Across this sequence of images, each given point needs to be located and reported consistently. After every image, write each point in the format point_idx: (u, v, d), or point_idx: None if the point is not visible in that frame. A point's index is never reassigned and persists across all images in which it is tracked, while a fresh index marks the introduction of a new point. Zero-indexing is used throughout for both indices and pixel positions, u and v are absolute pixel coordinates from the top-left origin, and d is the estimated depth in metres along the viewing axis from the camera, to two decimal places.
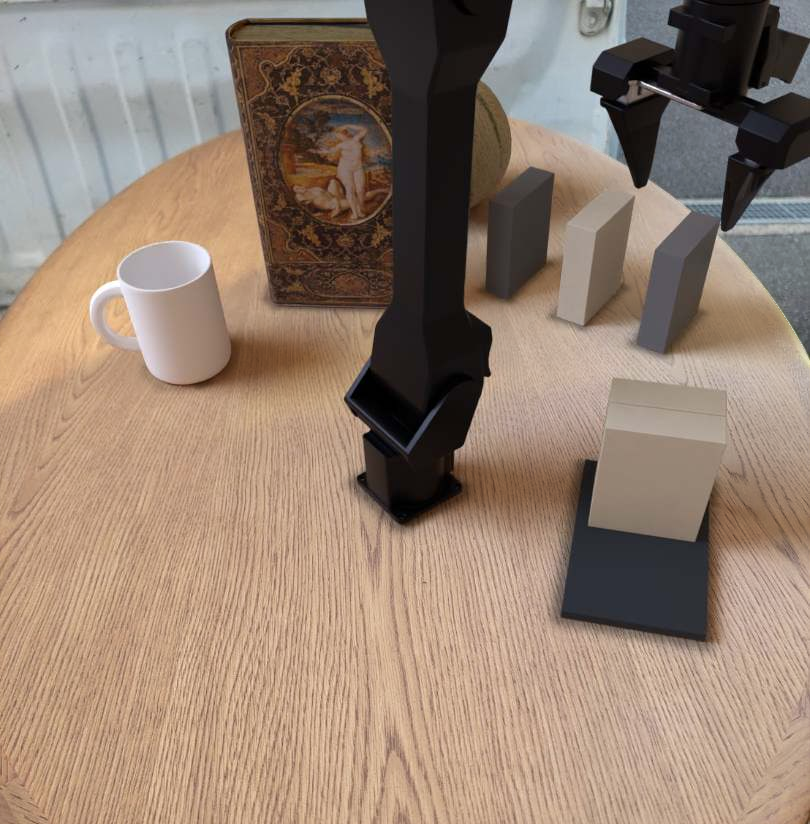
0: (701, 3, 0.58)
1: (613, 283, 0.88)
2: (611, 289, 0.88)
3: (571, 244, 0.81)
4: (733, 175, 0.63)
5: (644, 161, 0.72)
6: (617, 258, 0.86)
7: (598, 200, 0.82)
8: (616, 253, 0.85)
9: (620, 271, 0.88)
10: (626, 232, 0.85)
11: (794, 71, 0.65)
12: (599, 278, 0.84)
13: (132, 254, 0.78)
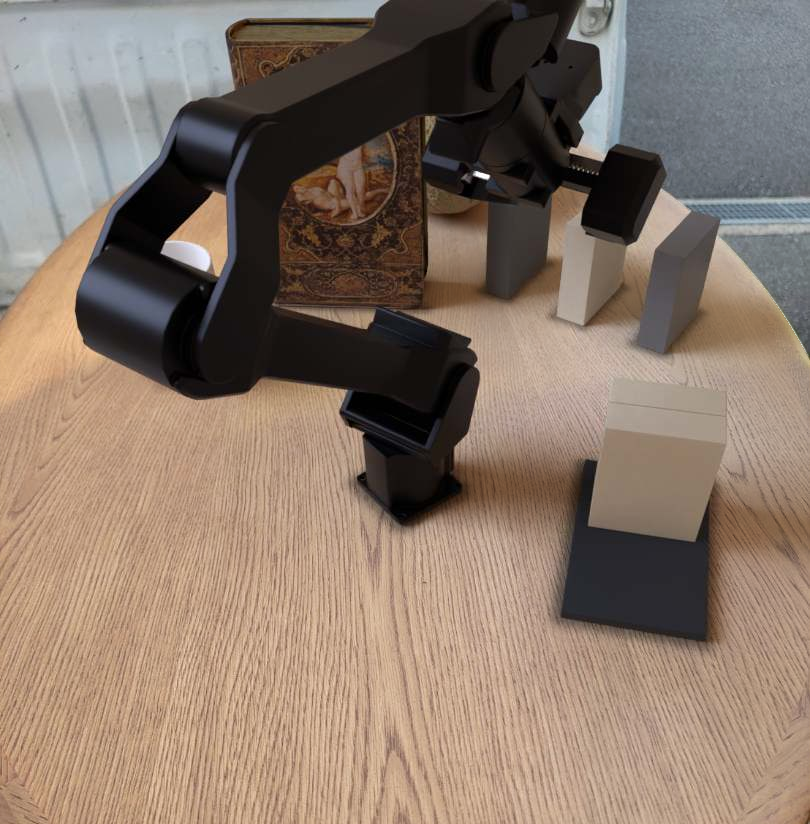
0: (490, 166, 0.60)
1: (613, 283, 0.88)
2: (611, 289, 0.88)
3: (571, 244, 0.81)
4: None
5: None
6: (617, 258, 0.86)
7: None
8: (616, 253, 0.85)
9: (620, 271, 0.88)
10: None
11: (599, 82, 0.64)
12: (599, 278, 0.84)
13: None
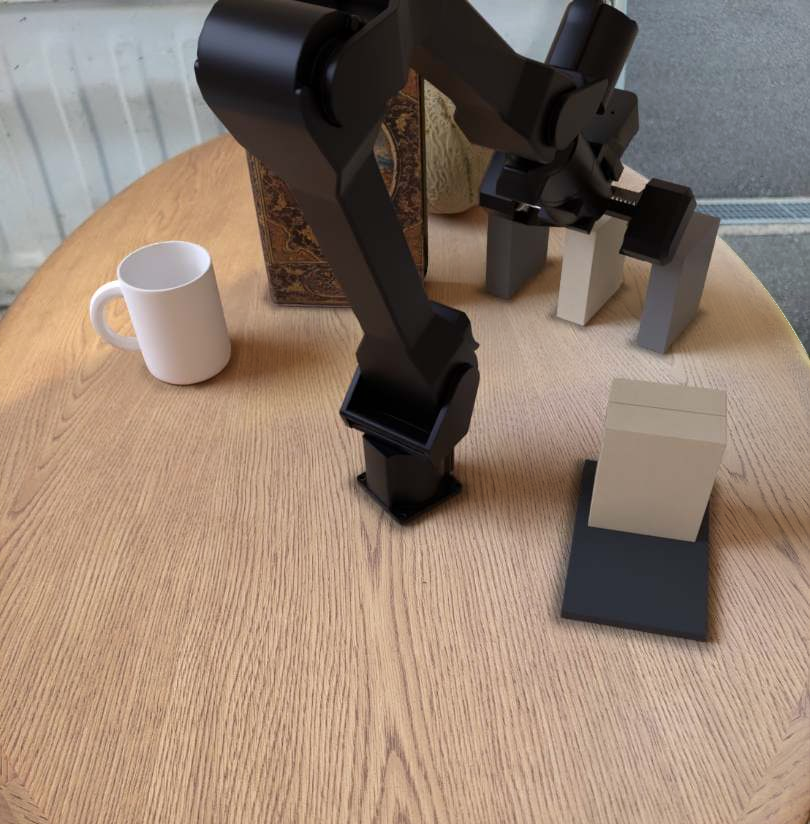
0: (545, 202, 0.70)
1: (613, 283, 0.88)
2: (611, 289, 0.88)
3: (571, 244, 0.81)
4: None
5: None
6: (617, 258, 0.86)
7: None
8: (616, 253, 0.85)
9: (620, 271, 0.88)
10: None
11: (637, 124, 0.73)
12: (599, 278, 0.84)
13: (132, 254, 0.78)
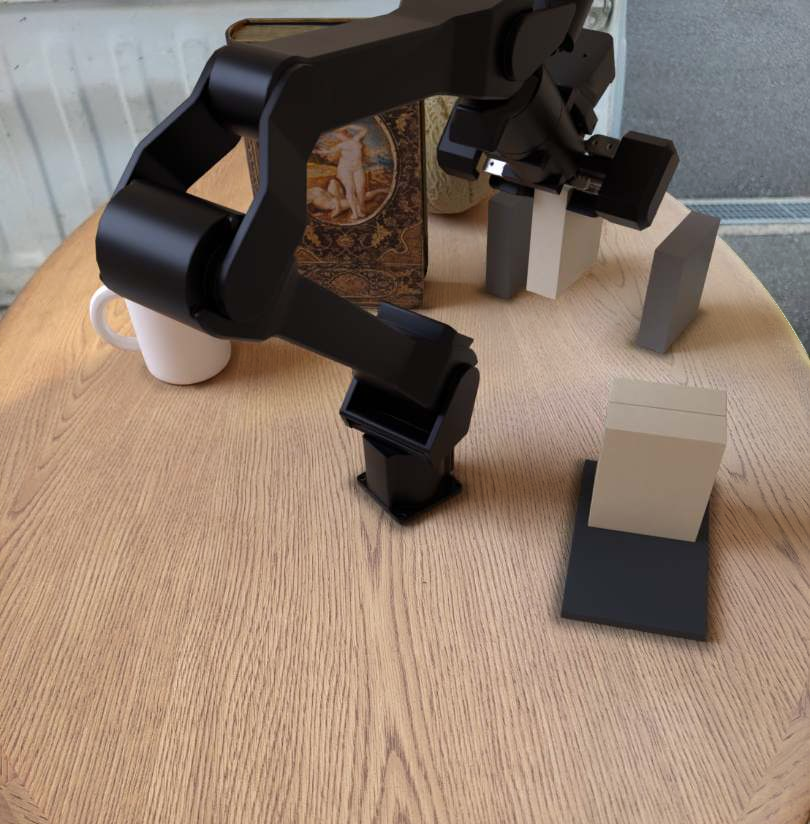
0: (508, 153, 0.62)
1: (589, 253, 0.79)
2: (587, 261, 0.79)
3: (540, 206, 0.72)
4: None
5: None
6: (593, 225, 0.77)
7: None
8: (591, 219, 0.76)
9: (598, 241, 0.79)
10: None
11: (613, 70, 0.65)
12: (573, 246, 0.75)
13: None
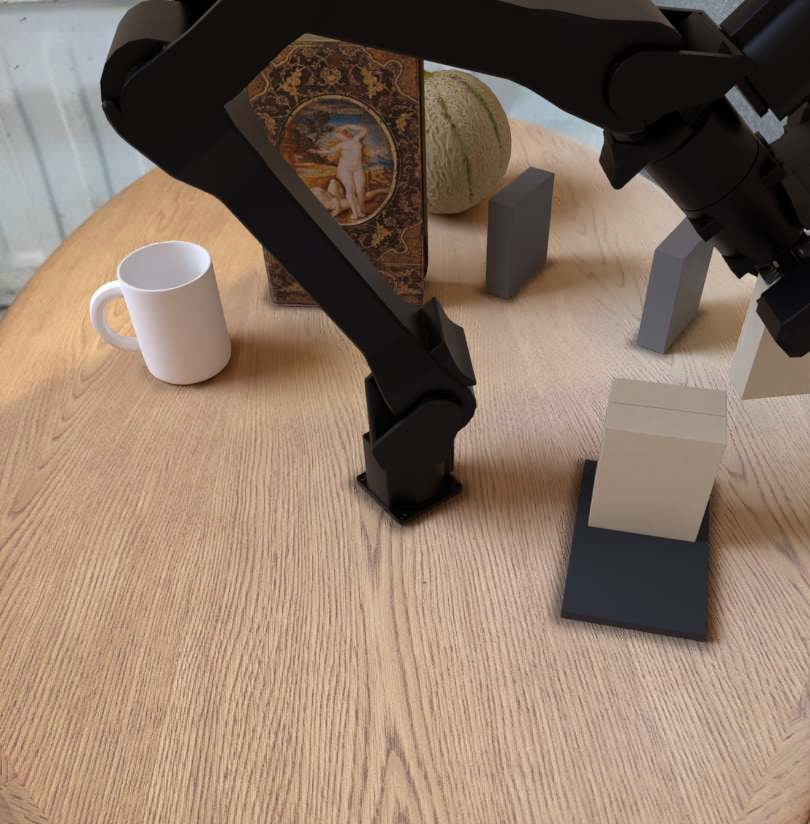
0: None
1: None
2: None
3: (758, 290, 0.62)
4: None
5: None
6: None
7: None
8: None
9: None
10: None
11: None
12: (785, 353, 0.63)
13: (132, 254, 0.78)
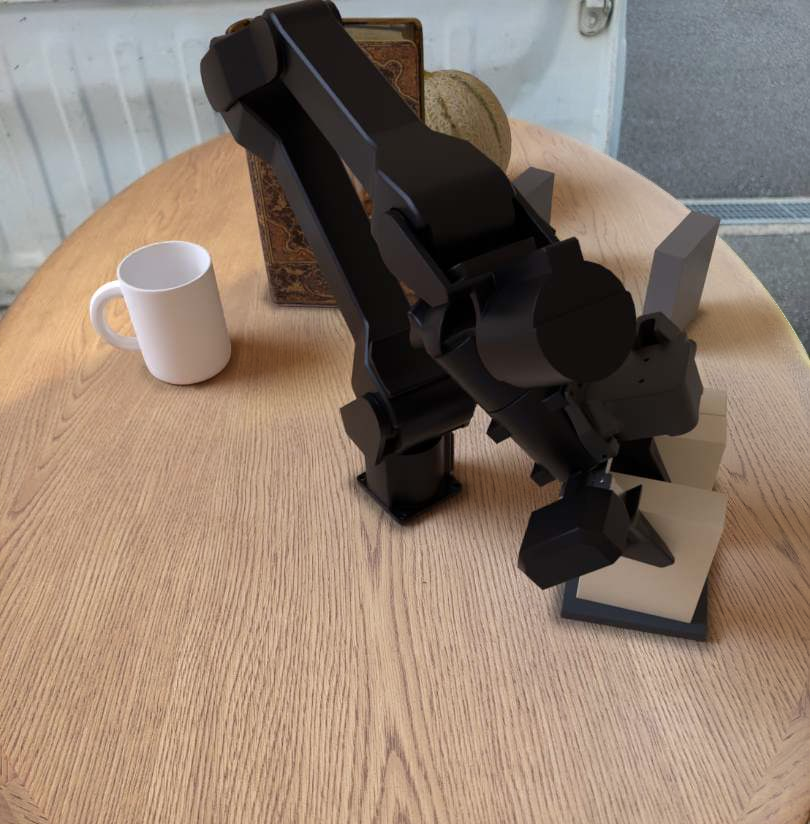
0: None
1: (664, 602, 0.60)
2: (661, 608, 0.61)
3: None
4: None
5: None
6: (673, 578, 0.58)
7: (683, 491, 0.55)
8: (666, 568, 0.57)
9: (689, 604, 0.59)
10: (701, 562, 0.56)
11: (674, 424, 0.48)
12: (615, 568, 0.59)
13: (132, 254, 0.78)
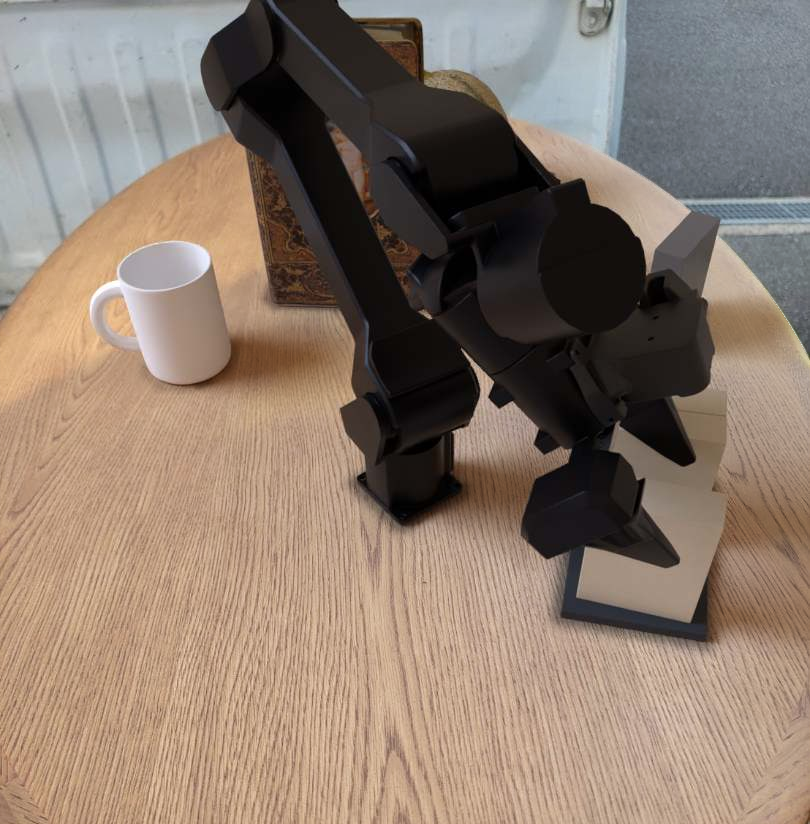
0: None
1: (664, 602, 0.60)
2: (661, 608, 0.61)
3: None
4: None
5: (667, 442, 0.57)
6: (673, 578, 0.58)
7: (683, 491, 0.55)
8: (666, 568, 0.57)
9: (689, 604, 0.59)
10: (701, 562, 0.56)
11: (685, 383, 0.45)
12: (615, 568, 0.59)
13: (132, 254, 0.78)
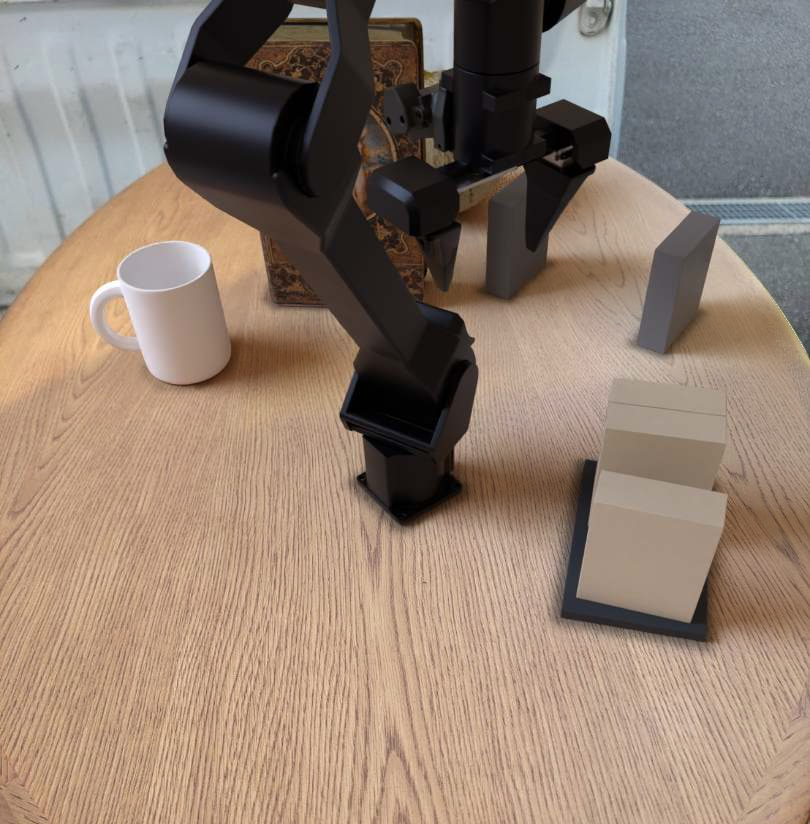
0: (526, 71, 0.56)
1: (664, 602, 0.60)
2: (661, 608, 0.61)
3: None
4: (570, 191, 0.66)
5: None
6: (673, 578, 0.58)
7: (683, 491, 0.55)
8: (666, 568, 0.57)
9: (689, 604, 0.59)
10: (701, 562, 0.56)
11: None
12: (615, 568, 0.59)
13: (132, 254, 0.78)
